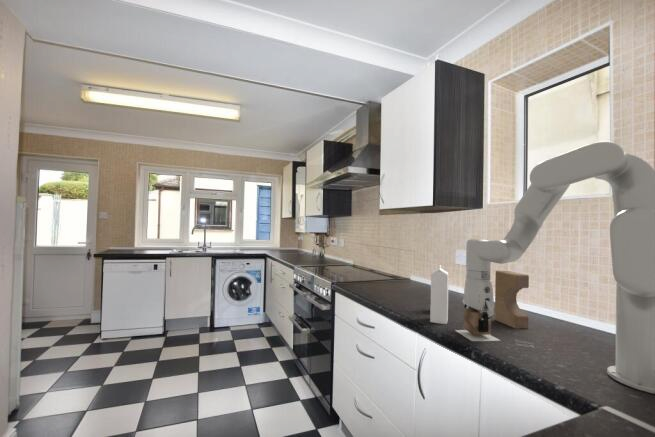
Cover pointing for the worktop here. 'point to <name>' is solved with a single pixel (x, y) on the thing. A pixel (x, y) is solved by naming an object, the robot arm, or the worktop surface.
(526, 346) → the tile
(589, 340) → the worktop surface
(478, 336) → the grey mat
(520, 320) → the decorative block
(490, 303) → the robot arm
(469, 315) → the walnut block
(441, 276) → the milk
